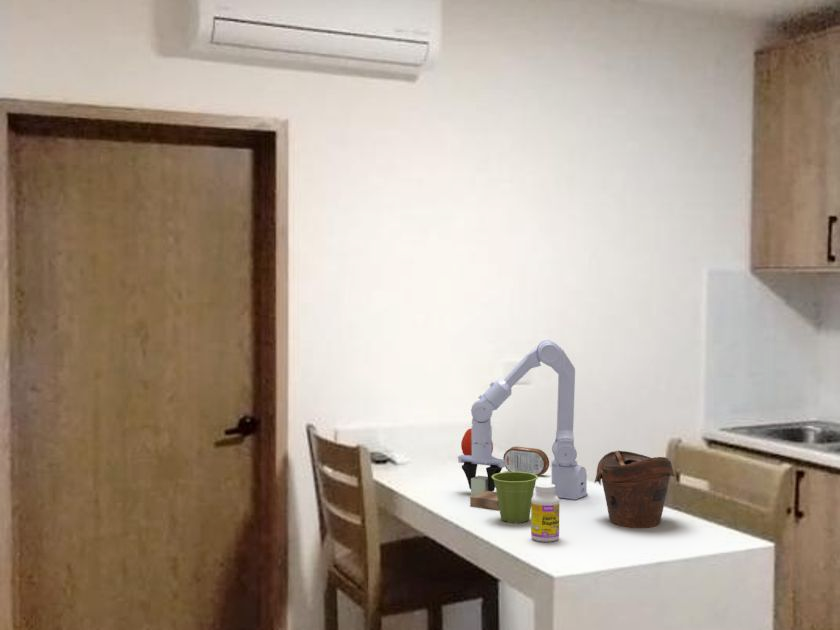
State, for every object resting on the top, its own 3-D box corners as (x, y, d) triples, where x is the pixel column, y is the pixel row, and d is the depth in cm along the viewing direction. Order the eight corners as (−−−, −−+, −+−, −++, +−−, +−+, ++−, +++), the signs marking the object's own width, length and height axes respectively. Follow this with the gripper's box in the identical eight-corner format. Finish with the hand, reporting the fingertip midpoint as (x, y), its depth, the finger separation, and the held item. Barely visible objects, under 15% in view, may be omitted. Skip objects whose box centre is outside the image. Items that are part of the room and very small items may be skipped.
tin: (549, 476, 310) (549, 449, 310) (545, 477, 308) (545, 450, 307) (506, 471, 318) (506, 445, 318) (502, 473, 316) (501, 446, 315)
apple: (459, 460, 337) (459, 429, 337) (463, 454, 348) (463, 424, 347) (491, 461, 335) (491, 429, 335) (494, 455, 346) (494, 424, 346)
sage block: (492, 494, 285) (492, 477, 285) (484, 497, 281) (484, 480, 281) (479, 492, 288) (479, 475, 288) (471, 495, 284) (471, 478, 284)
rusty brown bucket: (606, 509, 266) (606, 442, 265) (681, 517, 257) (682, 448, 255) (584, 525, 250) (584, 454, 249) (664, 535, 241) (664, 461, 240)
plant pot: (483, 517, 259) (483, 474, 258) (523, 512, 263) (523, 470, 263) (505, 527, 248) (505, 482, 247) (546, 522, 253) (546, 478, 252)
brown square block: (515, 505, 273) (515, 494, 273) (499, 512, 266) (499, 500, 266) (487, 501, 278) (487, 490, 278) (470, 507, 271) (470, 496, 271)
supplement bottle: (540, 543, 233) (540, 489, 232) (526, 537, 239) (525, 483, 238) (564, 540, 236) (564, 486, 235) (550, 534, 242) (550, 481, 241)
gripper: (510, 442, 283) (511, 490, 284) (467, 438, 291) (467, 484, 292) (498, 446, 277) (498, 494, 278) (454, 441, 285) (454, 488, 286)
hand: (481, 489), depth 285 cm, fingers open, 6 cm apart
